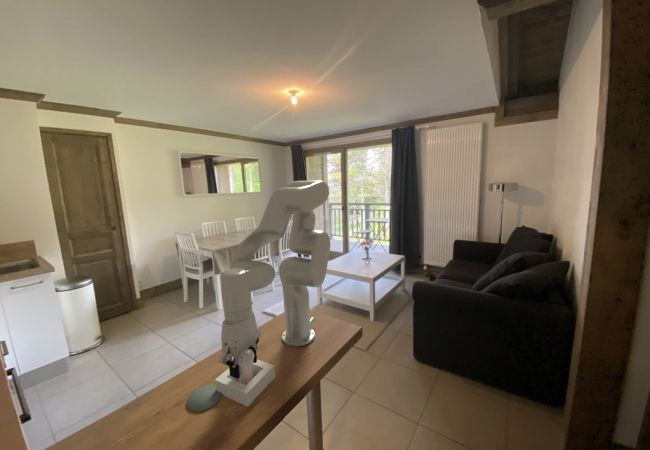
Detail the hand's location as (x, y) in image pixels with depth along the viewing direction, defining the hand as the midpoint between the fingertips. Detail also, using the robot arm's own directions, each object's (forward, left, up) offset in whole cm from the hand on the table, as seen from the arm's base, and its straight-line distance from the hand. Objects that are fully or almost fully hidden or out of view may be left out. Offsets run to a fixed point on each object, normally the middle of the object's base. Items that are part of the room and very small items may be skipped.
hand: (244, 368), depth 78 cm
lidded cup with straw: (0, 0, -6) cm, 6 cm away
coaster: (+9, -7, -6) cm, 12 cm away
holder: (0, 0, -6) cm, 6 cm away
